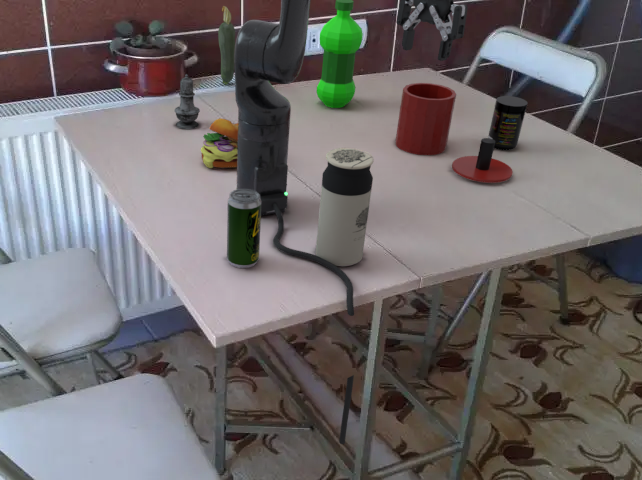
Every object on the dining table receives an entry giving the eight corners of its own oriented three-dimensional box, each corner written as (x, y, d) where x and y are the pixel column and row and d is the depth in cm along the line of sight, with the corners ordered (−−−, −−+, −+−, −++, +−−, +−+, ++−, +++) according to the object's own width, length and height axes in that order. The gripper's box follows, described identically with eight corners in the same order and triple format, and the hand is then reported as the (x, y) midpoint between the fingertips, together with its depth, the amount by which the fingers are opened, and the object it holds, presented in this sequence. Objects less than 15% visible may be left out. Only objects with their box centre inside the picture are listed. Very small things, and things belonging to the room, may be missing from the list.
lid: (522, 174, 157) (531, 142, 153) (490, 191, 150) (498, 157, 146) (472, 156, 165) (479, 125, 161) (439, 170, 157) (445, 138, 153)
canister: (455, 147, 169) (466, 92, 162) (425, 159, 162) (435, 103, 155) (415, 132, 175) (424, 79, 168) (385, 143, 169) (393, 89, 162)
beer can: (223, 267, 122) (224, 201, 116) (230, 250, 127) (231, 186, 120) (256, 270, 122) (259, 204, 115) (261, 254, 126) (264, 190, 119)
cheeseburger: (187, 160, 157) (195, 113, 153) (223, 159, 164) (231, 113, 161) (220, 175, 151) (229, 126, 147) (256, 173, 159) (265, 126, 155)
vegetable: (237, 86, 198) (238, 7, 187) (222, 88, 196) (223, 9, 185) (229, 81, 201) (230, 4, 190) (215, 83, 199) (215, 5, 188)
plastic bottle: (305, 103, 189) (313, -1, 175) (334, 95, 195) (344, -6, 181) (334, 114, 183) (345, 8, 169) (363, 105, 189) (375, 2, 175)
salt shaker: (198, 130, 172) (198, 78, 165) (173, 129, 172) (171, 77, 165) (201, 120, 176) (200, 70, 170) (176, 119, 176) (174, 69, 170)
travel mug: (305, 253, 127) (314, 154, 117) (338, 239, 131) (349, 143, 121) (338, 273, 122) (350, 171, 112) (371, 258, 126) (386, 159, 116)
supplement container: (522, 150, 168) (533, 105, 162) (494, 152, 167) (505, 106, 161) (507, 139, 174) (518, 95, 168) (481, 140, 172) (490, 96, 167)
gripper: (396, -40, 139) (384, 49, 148) (459, -27, 130) (442, 66, 139) (421, -43, 143) (407, 44, 152) (484, -30, 135) (466, 60, 144)
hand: (424, 54), depth 146 cm, fingers open, 8 cm apart
